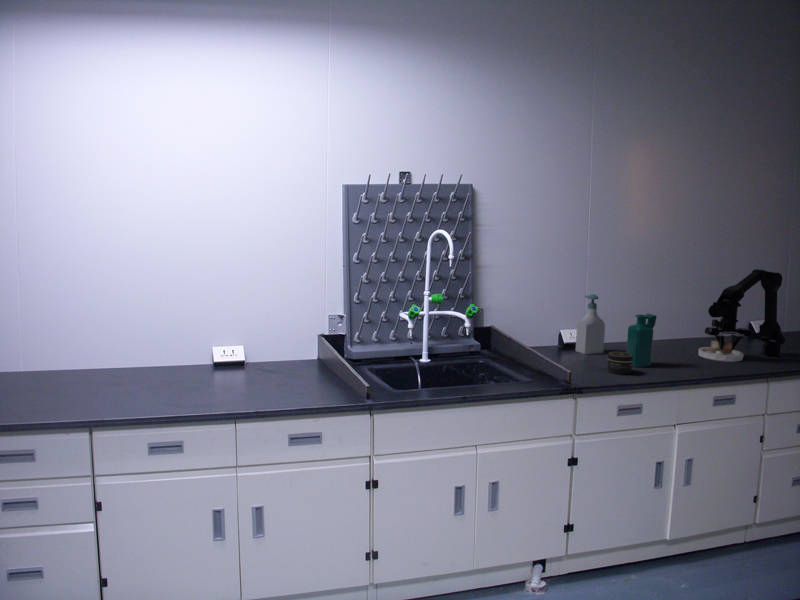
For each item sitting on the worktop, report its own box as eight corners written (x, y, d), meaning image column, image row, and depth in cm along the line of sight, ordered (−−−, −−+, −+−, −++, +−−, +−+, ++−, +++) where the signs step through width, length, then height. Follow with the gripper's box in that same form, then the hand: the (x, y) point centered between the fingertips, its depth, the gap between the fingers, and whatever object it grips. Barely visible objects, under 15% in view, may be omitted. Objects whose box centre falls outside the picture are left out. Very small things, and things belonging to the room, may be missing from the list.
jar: (611, 367, 265) (613, 350, 264) (635, 372, 259) (637, 354, 258) (602, 372, 258) (604, 354, 257) (627, 376, 251) (628, 358, 250)
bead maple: (722, 353, 293) (723, 342, 292) (712, 352, 293) (713, 342, 292) (718, 351, 297) (719, 340, 297) (708, 350, 297) (709, 340, 297)
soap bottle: (591, 349, 301) (595, 292, 297) (603, 352, 294) (607, 294, 290) (572, 350, 297) (576, 293, 293) (584, 354, 289) (588, 295, 285)
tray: (730, 353, 299) (731, 347, 299) (750, 362, 281) (751, 356, 281) (691, 351, 300) (692, 346, 299) (709, 361, 282) (709, 355, 281)
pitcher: (635, 367, 267) (639, 316, 263) (623, 362, 275) (627, 313, 271) (655, 366, 269) (659, 316, 266) (642, 361, 277) (646, 312, 274)
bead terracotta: (733, 353, 283) (734, 343, 282) (723, 353, 283) (724, 342, 282) (728, 351, 287) (729, 341, 286) (719, 351, 287) (720, 340, 287)
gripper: (741, 314, 290) (738, 347, 293) (700, 313, 291) (697, 346, 293) (754, 318, 279) (750, 352, 282) (711, 317, 280) (708, 351, 282)
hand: (726, 350), depth 285 cm, fingers closed on bead terracotta, 4 cm apart
